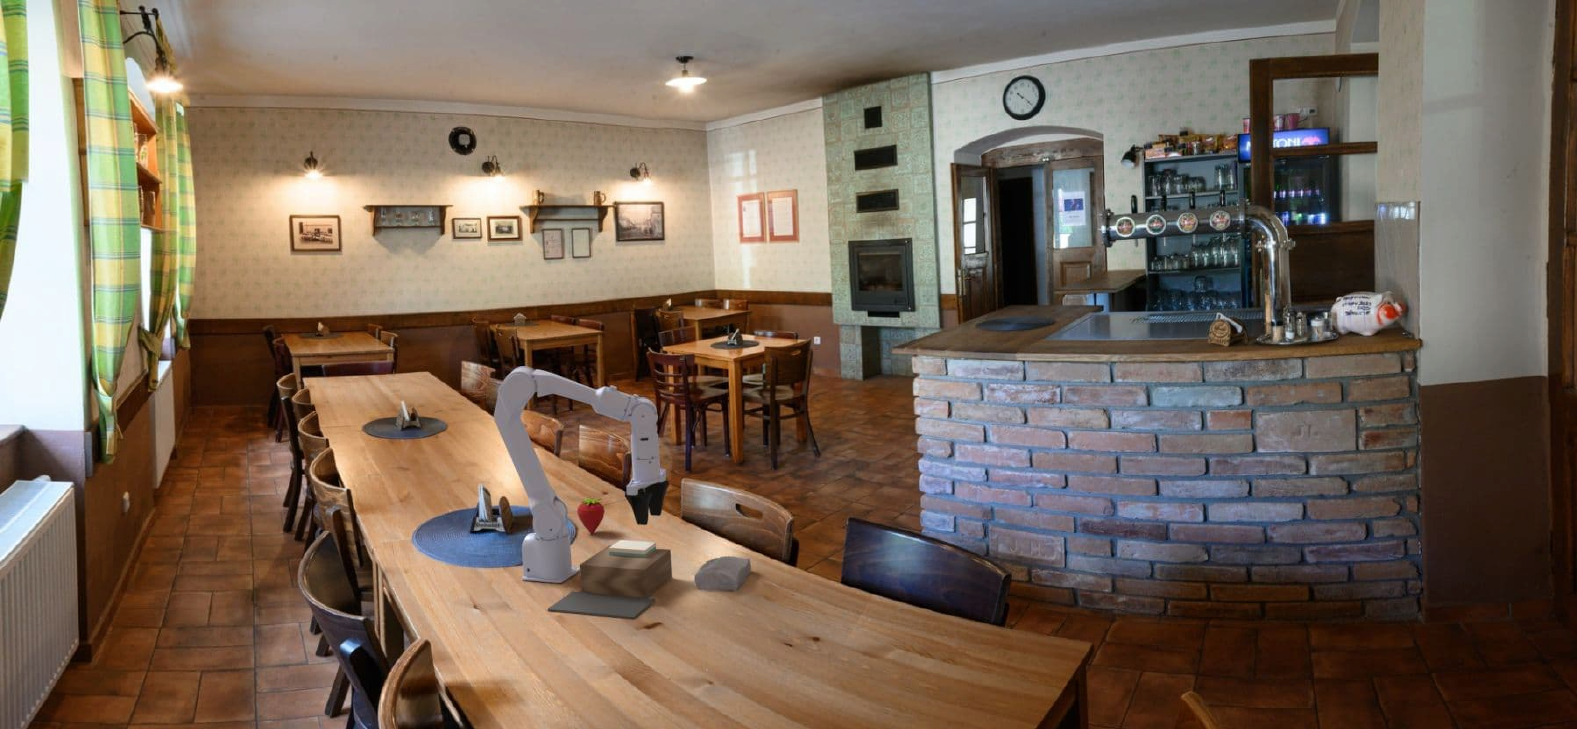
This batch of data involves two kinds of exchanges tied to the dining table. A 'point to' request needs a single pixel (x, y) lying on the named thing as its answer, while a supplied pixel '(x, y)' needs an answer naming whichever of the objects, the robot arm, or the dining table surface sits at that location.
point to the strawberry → (591, 513)
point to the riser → (626, 573)
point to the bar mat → (602, 605)
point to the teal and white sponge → (632, 548)
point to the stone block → (722, 574)
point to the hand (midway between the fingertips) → (649, 519)
